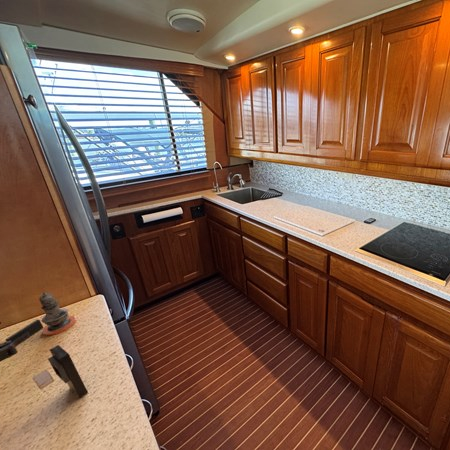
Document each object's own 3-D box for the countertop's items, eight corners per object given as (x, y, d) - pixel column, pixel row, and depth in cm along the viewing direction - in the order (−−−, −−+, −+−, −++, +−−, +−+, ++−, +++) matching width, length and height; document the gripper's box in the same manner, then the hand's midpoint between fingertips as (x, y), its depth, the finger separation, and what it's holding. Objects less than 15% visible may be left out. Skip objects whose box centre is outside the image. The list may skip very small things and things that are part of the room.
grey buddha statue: (46, 324, 73) (29, 292, 69) (71, 314, 77) (57, 283, 72) (45, 335, 69) (28, 301, 65) (72, 324, 73) (57, 292, 69)
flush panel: (77, 382, 56) (58, 344, 52) (88, 392, 54) (68, 353, 50) (65, 391, 54) (44, 352, 50) (75, 401, 52) (54, 362, 48)
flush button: (49, 377, 51) (44, 367, 50) (55, 383, 49) (50, 373, 48) (36, 385, 49) (30, 375, 48) (42, 392, 48) (36, 382, 47)
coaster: (36, 333, 71) (35, 331, 70) (64, 315, 77) (64, 314, 77) (55, 337, 69) (54, 336, 69) (82, 318, 76) (82, 317, 76)
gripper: (-158, 410, 47) (-13, 328, 66) (-58, 428, 44) (64, 336, 63) (-187, 383, 44) (-27, 306, 64) (-82, 400, 41) (53, 314, 60)
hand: (19, 321), depth 64 cm, fingers open, 13 cm apart
